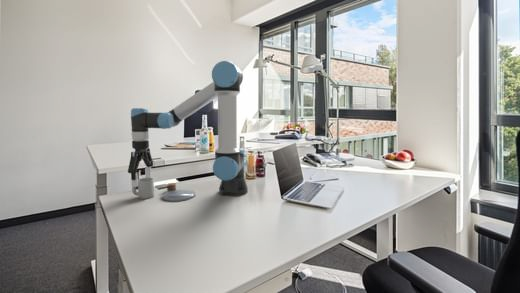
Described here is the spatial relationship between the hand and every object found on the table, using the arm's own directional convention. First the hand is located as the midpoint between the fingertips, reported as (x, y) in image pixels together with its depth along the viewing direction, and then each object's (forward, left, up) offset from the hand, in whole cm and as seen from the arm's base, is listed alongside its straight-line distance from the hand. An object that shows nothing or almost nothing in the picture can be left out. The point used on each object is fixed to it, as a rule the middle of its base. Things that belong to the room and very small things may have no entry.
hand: (142, 182), depth 140 cm
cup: (0, 0, -8) cm, 8 cm away
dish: (-17, -3, -7) cm, 19 cm away
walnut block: (-10, -11, -8) cm, 17 cm away
